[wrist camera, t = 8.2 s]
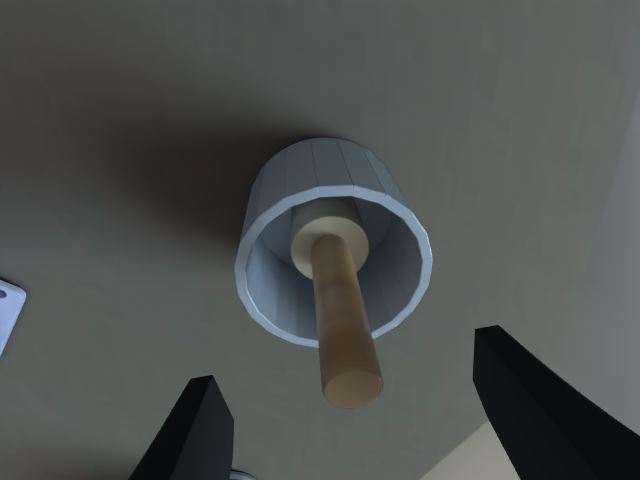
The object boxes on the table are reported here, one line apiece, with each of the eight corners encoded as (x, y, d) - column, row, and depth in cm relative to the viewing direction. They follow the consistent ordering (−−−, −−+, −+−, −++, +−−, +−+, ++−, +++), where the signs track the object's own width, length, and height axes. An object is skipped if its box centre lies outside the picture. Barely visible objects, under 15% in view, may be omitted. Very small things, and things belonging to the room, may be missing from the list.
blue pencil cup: (221, 228, 19) (199, 301, 14) (304, 103, 16) (309, 142, 12) (338, 291, 22) (351, 370, 17) (427, 191, 19) (472, 252, 14)
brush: (277, 226, 18) (267, 404, 10) (316, 172, 17) (341, 326, 9) (331, 256, 20) (363, 441, 11) (372, 208, 18) (440, 375, 10)
